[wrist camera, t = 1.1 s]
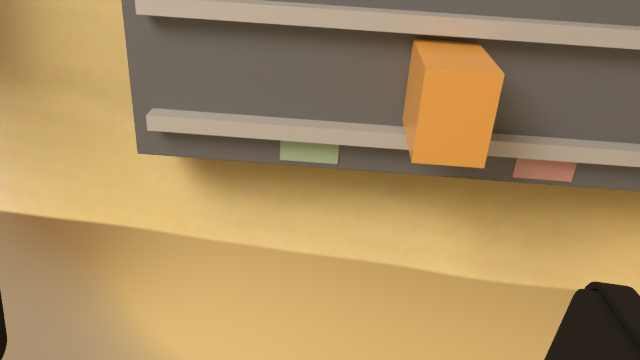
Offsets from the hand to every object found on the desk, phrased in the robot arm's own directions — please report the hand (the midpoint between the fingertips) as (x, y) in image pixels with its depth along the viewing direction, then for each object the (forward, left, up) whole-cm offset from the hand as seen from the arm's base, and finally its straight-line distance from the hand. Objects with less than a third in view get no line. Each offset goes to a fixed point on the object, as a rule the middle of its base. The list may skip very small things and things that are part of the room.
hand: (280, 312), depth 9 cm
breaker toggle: (-5, +2, -19) cm, 19 cm away
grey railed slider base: (-5, +2, -23) cm, 23 cm away
